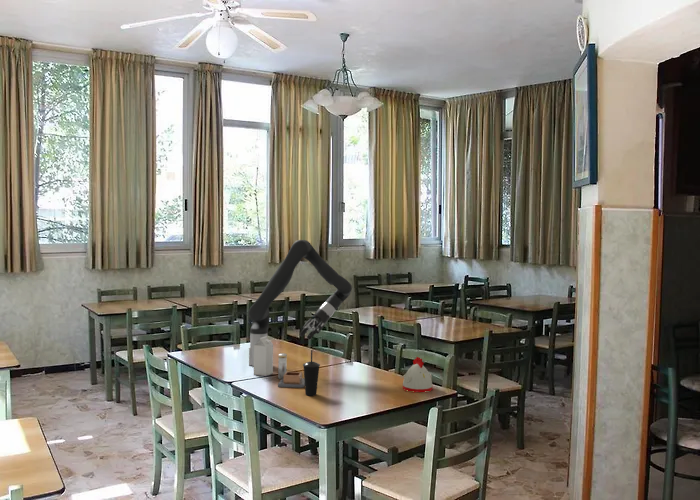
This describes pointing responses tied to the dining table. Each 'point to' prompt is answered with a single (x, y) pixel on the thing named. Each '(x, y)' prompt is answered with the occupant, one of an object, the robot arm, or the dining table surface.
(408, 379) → the kitchen timer
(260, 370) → the milk carton
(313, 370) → the drinking cup
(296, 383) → the collar plate
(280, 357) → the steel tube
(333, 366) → the dining table surface
